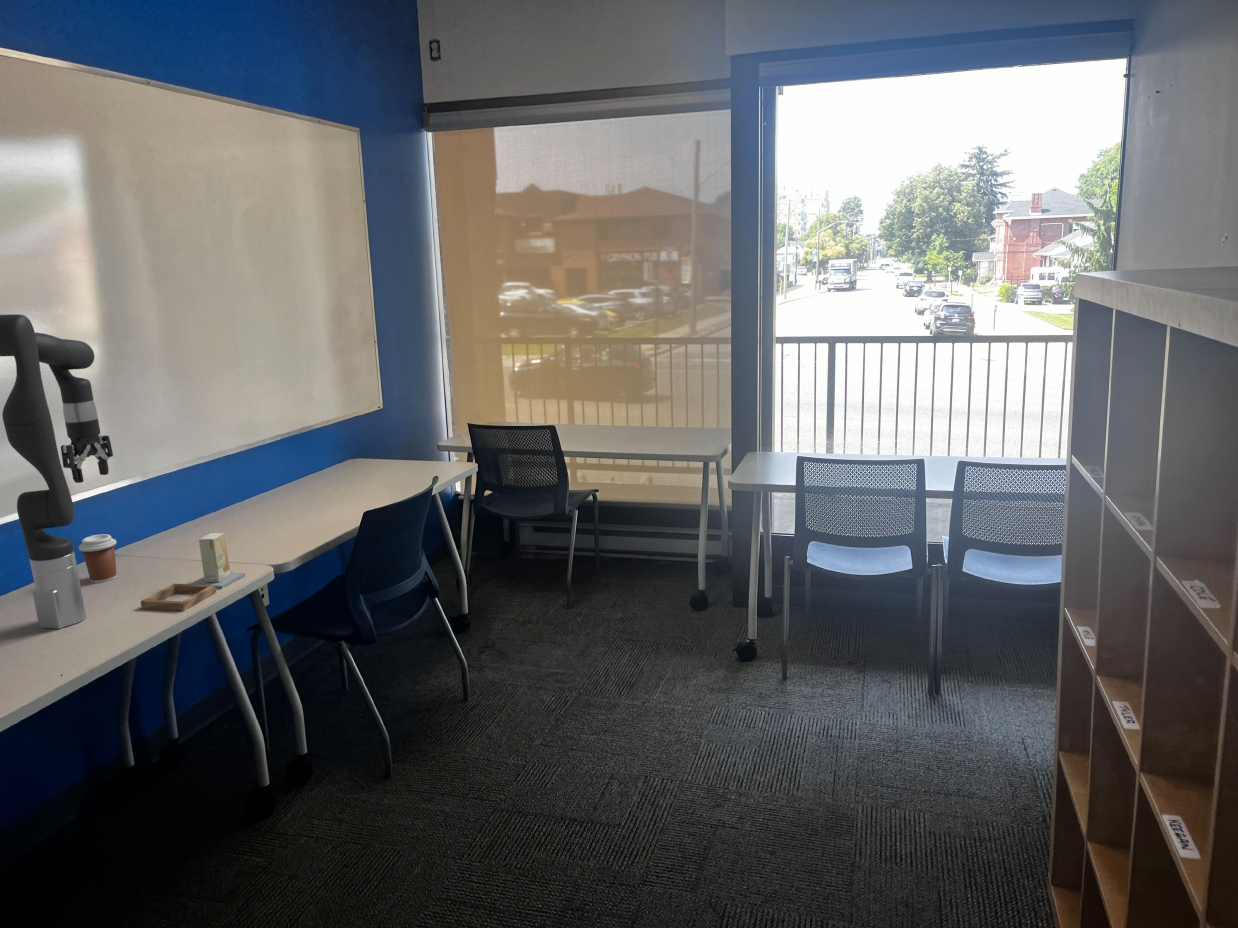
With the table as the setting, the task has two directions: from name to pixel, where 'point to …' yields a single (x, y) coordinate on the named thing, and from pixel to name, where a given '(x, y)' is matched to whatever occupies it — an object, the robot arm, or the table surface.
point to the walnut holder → (158, 602)
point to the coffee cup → (99, 557)
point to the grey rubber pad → (222, 583)
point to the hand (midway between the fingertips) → (92, 478)
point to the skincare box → (214, 557)
